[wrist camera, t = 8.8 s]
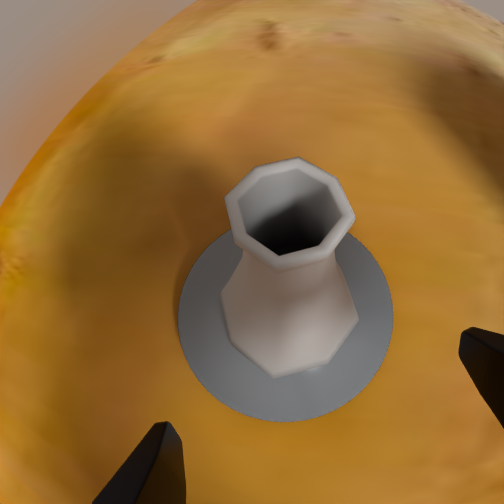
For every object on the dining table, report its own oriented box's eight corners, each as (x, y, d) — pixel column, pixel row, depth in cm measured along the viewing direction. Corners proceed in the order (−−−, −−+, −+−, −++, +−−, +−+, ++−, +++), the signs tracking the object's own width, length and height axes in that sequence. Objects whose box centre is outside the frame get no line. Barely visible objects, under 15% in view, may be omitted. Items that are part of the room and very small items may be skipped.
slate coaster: (397, 406, 15) (403, 406, 14) (182, 419, 16) (176, 421, 15) (369, 216, 20) (372, 208, 19) (188, 230, 21) (183, 222, 20)
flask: (199, 291, 18) (117, 185, 9) (304, 226, 19) (311, 87, 10) (267, 402, 15) (239, 419, 6) (380, 324, 16) (473, 239, 7)
